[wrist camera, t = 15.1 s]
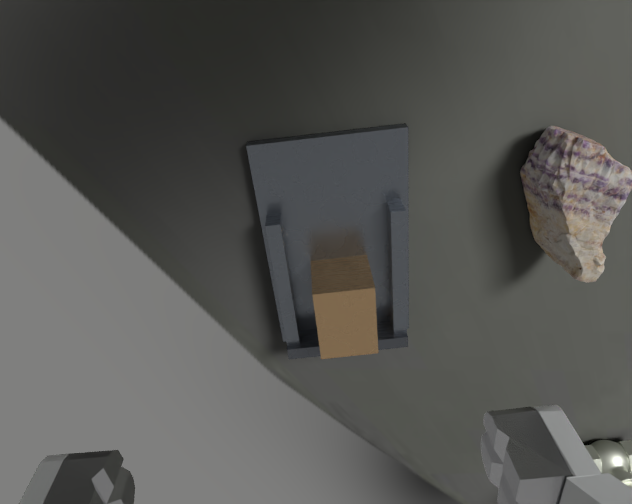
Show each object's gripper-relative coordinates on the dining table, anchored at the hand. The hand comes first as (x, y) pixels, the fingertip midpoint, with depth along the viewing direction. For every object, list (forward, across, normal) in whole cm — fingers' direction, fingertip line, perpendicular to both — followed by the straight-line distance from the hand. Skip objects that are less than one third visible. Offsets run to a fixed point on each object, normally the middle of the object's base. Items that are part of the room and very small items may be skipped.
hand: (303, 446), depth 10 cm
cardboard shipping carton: (+28, -2, +16) cm, 33 cm away
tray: (+29, -2, +12) cm, 32 cm away
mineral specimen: (+30, -21, +8) cm, 37 cm away
